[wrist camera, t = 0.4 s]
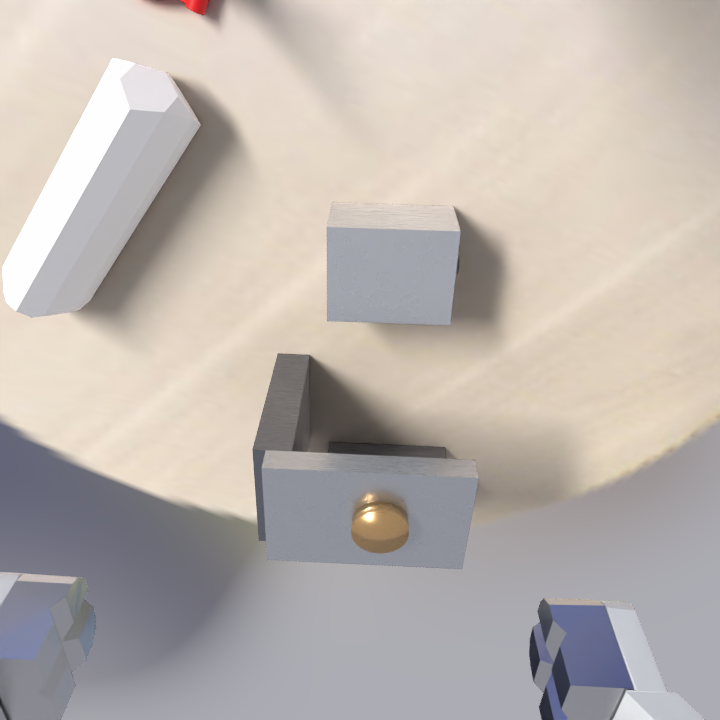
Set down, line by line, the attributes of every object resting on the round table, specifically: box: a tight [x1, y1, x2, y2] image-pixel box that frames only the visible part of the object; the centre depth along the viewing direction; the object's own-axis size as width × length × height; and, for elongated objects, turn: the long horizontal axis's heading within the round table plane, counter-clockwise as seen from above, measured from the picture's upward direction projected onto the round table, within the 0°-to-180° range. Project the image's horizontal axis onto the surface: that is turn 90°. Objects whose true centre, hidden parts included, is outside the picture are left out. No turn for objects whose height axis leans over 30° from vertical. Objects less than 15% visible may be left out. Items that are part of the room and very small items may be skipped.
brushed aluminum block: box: [327, 202, 461, 325], centre depth 52 cm, size 8×10×6 cm
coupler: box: [253, 354, 479, 569], centre depth 56 cm, size 12×17×17 cm
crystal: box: [2, 58, 201, 317], centre depth 50 cm, size 7×7×24 cm
